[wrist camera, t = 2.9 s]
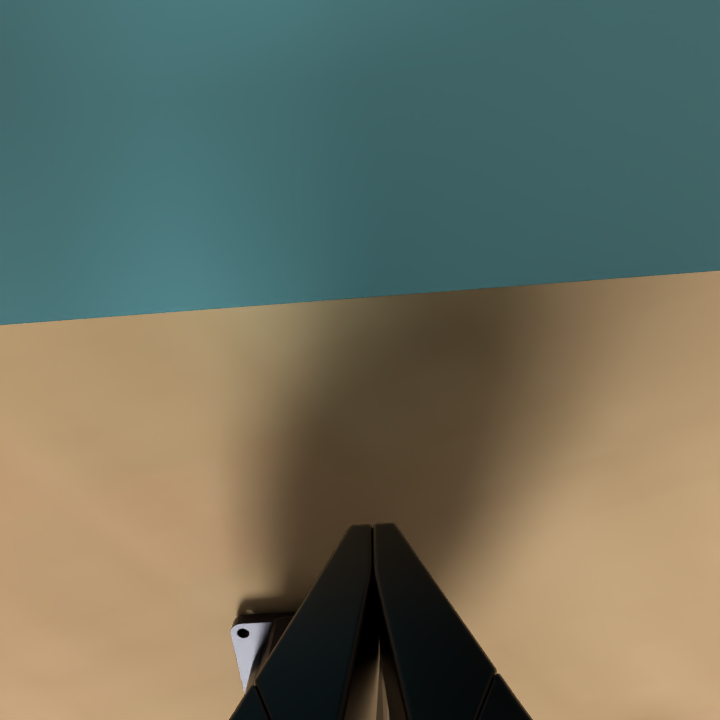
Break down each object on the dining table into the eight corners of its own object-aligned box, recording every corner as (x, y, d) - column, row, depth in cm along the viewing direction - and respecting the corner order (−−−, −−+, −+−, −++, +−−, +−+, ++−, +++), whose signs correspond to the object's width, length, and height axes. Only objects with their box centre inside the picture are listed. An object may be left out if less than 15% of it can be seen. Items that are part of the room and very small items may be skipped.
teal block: (556, 239, 13) (852, 260, 5) (167, 270, 13) (-114, 333, 5) (565, 87, 11) (980, -198, 4) (136, 127, 12) (-285, -56, 4)
